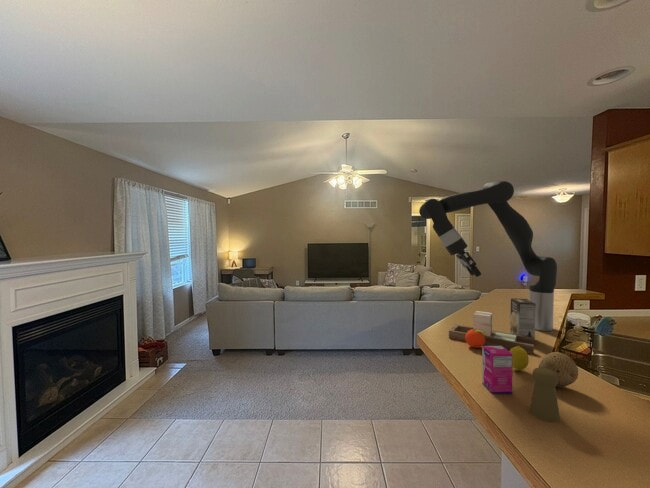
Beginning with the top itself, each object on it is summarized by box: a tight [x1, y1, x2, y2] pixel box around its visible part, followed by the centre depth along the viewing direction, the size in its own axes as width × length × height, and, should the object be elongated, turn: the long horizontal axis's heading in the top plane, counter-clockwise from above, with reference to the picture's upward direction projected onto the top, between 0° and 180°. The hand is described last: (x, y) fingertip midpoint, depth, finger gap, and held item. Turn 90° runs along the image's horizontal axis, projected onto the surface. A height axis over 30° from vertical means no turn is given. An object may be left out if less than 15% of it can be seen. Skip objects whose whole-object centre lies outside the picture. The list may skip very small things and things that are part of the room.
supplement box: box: [481, 345, 513, 395], centre depth 86 cm, size 6×6×12 cm
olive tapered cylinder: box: [528, 367, 561, 423], centre depth 74 cm, size 6×6×11 cm
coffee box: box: [509, 297, 536, 337], centre depth 127 cm, size 9×6×16 cm
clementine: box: [465, 329, 487, 349], centre depth 117 cm, size 8×7×7 cm
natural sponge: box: [538, 351, 579, 389], centre depth 87 cm, size 9×9×10 cm
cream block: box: [473, 310, 493, 336], centre depth 125 cm, size 6×6×8 cm
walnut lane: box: [448, 324, 536, 355], centre depth 124 cm, size 11×30×3 cm, turn 54°
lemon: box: [508, 346, 530, 372], centre depth 97 cm, size 6×6×8 cm
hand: (476, 275), depth 123 cm, fingers open, 8 cm apart
